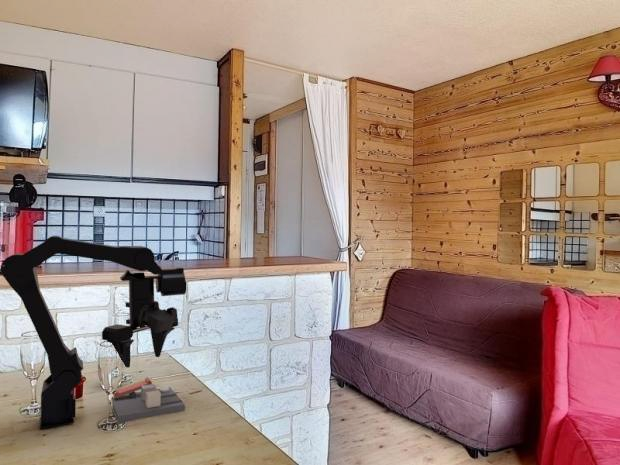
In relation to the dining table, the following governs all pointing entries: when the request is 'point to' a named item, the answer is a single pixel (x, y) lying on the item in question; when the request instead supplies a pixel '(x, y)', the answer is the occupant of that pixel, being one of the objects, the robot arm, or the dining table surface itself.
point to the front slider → (152, 399)
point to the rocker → (132, 388)
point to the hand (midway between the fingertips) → (143, 361)
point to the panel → (135, 407)
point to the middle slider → (147, 390)
